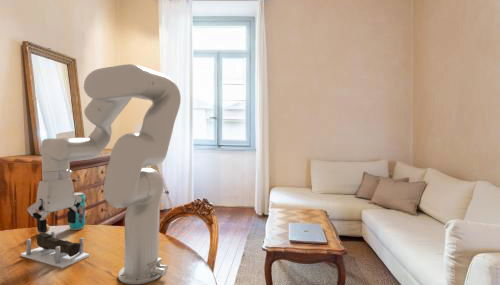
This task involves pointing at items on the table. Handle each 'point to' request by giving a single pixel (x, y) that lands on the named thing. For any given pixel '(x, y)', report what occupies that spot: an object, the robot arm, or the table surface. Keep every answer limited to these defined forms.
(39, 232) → the figurine
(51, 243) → the dark brown rough rod
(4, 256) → the table surface
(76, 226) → the beverage can
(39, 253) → the peg rack
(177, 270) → the table surface
